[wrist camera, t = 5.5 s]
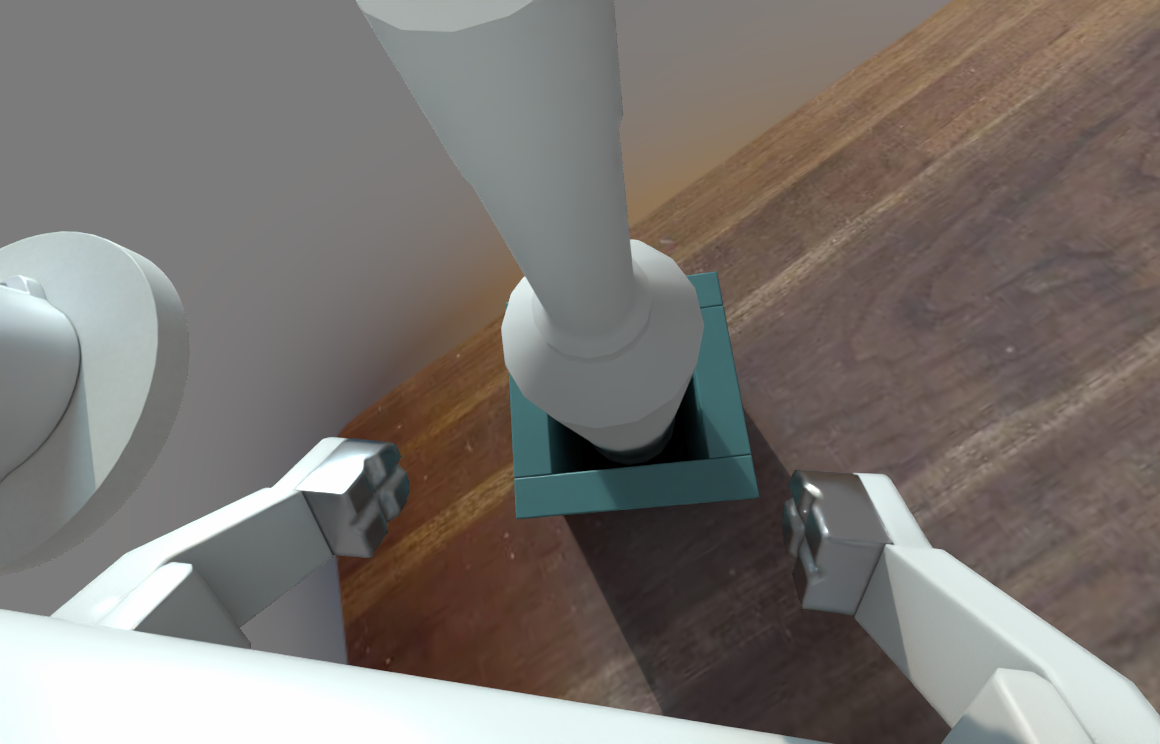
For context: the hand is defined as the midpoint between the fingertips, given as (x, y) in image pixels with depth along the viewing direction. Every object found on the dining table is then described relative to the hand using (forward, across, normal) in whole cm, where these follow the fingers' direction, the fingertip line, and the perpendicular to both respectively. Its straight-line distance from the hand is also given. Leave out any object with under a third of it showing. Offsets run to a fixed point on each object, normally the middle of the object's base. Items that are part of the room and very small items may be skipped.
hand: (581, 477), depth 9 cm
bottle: (+15, 0, +10) cm, 18 cm away
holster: (+15, 0, +10) cm, 18 cm away
